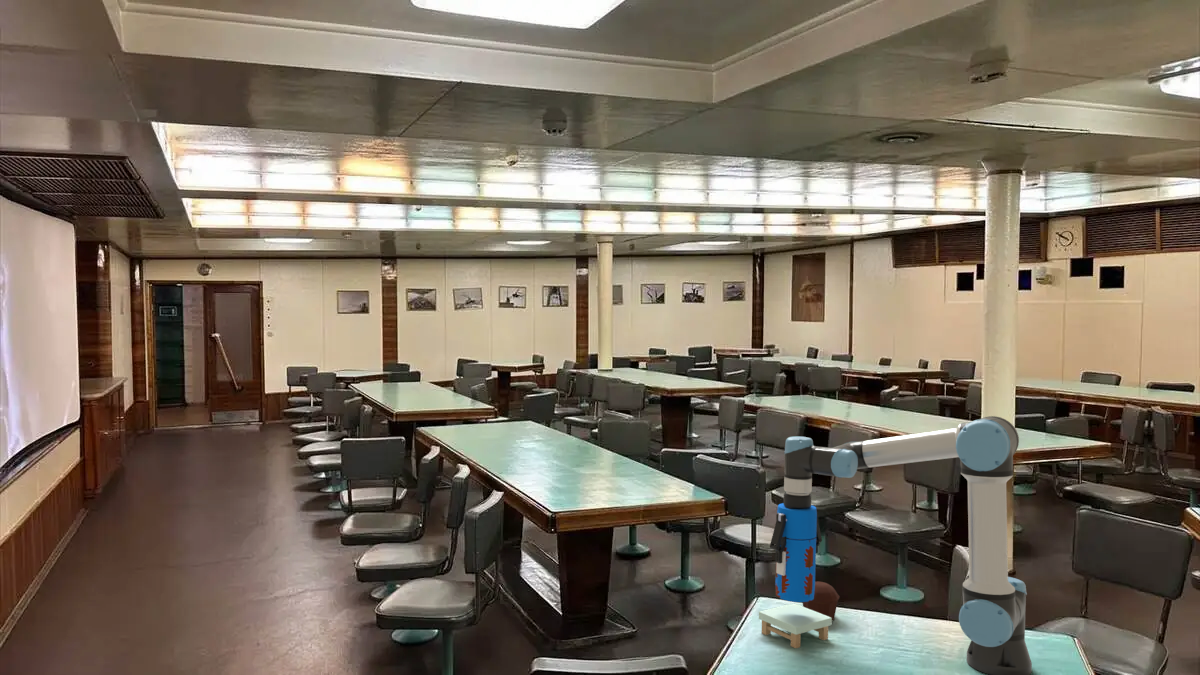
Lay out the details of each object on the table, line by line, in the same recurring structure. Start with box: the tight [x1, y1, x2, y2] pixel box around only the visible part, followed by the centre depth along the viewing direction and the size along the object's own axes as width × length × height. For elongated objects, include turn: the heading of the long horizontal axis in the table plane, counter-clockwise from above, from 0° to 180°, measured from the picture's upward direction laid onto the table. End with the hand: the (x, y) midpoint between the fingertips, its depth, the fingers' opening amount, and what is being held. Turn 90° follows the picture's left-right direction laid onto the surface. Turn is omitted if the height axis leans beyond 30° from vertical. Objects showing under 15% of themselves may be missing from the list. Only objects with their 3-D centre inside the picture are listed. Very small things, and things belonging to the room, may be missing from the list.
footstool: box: [758, 602, 833, 649], centre depth 233 cm, size 14×14×6 cm
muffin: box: [802, 581, 840, 621], centre depth 249 cm, size 12×11×10 cm
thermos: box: [774, 502, 818, 603], centre depth 232 cm, size 11×11×25 cm
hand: (795, 571), depth 233 cm, fingers closed on thermos, 11 cm apart
